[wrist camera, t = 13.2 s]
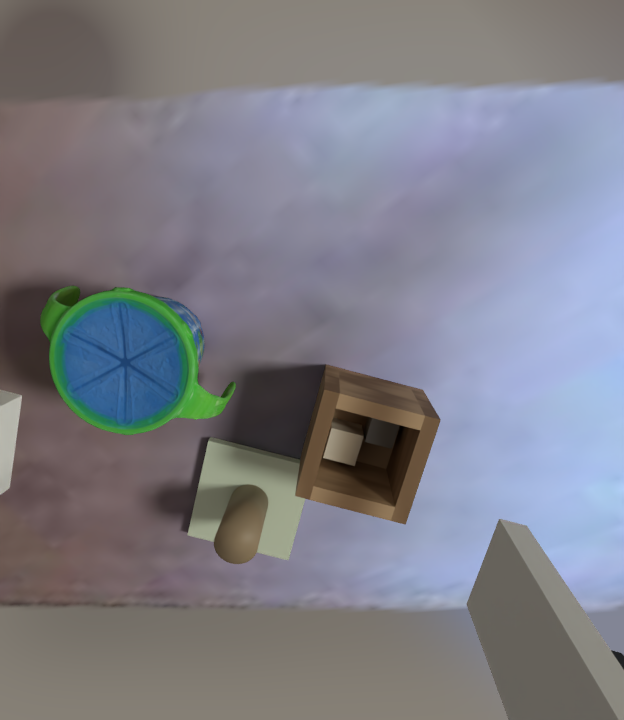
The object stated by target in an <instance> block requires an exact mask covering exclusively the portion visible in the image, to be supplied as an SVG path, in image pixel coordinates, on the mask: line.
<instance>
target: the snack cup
mask: <svg viewBox="0 0 624 720" xmlns="http://www.w3.org/2000/svg"><path fill="white" fill-rule="evenodd" d="M79 295H80V289H79V288H78V287H76V286H68V287H65V288H62V289H60V290H58V291H56V292H54V293H53V294H52V295H51V296H50V297H49V299H48V301H47V304H46V306H45V308H44V309H43V311H42V313H41V317H40V323H41V327H42V329H43V332H44V333H45V334H46V336H47V338H48V339H49V341H50V349H49V364H50V371H51V375H52V378H53V382H54V384H55V386H56V389H57V390H58V392H59V394H60V396H61V398H62V399H63V400H64V401H65V403H66V404H67V405H68V407H69V408H70V409H71V410H72V411H73V412H74V413H75V414H77V415H78V416H79V417H80V418H81V419H83V420H85V421H86V422H87V423H89V424H91V425H93V426H95V427H97V428H100V429H102V430H106V431H109V432H114V433H120V434H124V435H133V434H137V433H144V432H147V431H151V430H153V429H156V428H158V427H160V426H162V425H164V424H165V423H167V422H168V421H170V420H171V419H173V418H181V417H182V418H192V419H195V420H196V419H200V418H201V419H206V418H211V417H215V416H217V415H219V414H221V413H222V411H223V410H224V408H225V405H226V404H227V403H228V401H229V400H230V398H231V396H232V394H233V393H234V390H235V387H236V384H235V382H231V383H230V384H229V385H228V387H227V388H226V390H225V391H224V393H223V394H222V396H221V397H219V396H216V395H212V394H210V393H208V392H207V391H206V390H204V389H203V388H202V387H201V386H200V385H199V384H198V379H197V376H198V367H199V364H200V362H201V359H202V356H203V352H204V335H203V331H202V328H201V324H200V321H199V320H198V318H197V317H196V316H195V315H194V314H193V313H192V312H191V311H190V310H189V309H188V308H187V307H185V306H184V305H182V304H180V303H179V302H176V301H174V300H172V299H169V298H164V297H156V296H151V295H148V294H146V293H142V292H138V291H134V290H132V289H130V288H117V287H115V288H114V289H112V290H110V291H103V292H100V293H97V294H94V295H91V296H89V297H87V298H84V299H82V300H81V301H79V302H78V303H77V301H78V299H79Z"/></svg>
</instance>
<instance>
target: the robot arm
mask: <svg viewBox="0 0 624 720" xmlns="http://www.w3.org/2000/svg"><path fill="white" fill-rule="evenodd" d="M21 400H22V395H19V394H15V393H11V392H7V391H3V390H0V495H1V494H2V493H3V492H5V491H6V490H7V489H9V488H10V482H11V474H12V467H13V459H14V452H15V444H16V437H17V430H18V422H19V415H20V407H21ZM467 607H468V610H469V612H470V615H471V618H472V620H473V623H474V626H475V629H476V631H477V634H478V637H479V640H480V642H481V645H482V648H483V651H484V653H485V656H486V659H487V662H488V664H489V667H490V670H491V673H492V675H493V678H494V681H495V684H496V686H497V689H498V692H499V694H500V697H501V700H502V703H503V705H504V708H505V711H506V714H507V716H508V719H509V720H624V656H623V655H622V654H621V653H619V652H615V651H611V650H610V649H609V647H608V646H607V644H606V643H605V641H604V640H603V638H602V637H601V635H600V634H599V633H598V631H597V629H596V628H595V626H594V625H593V623H592V622H591V620H590V619H589V618H588V616H587V615H586V613H585V612H584V610H583V609H582V607H581V606H580V604H579V603H578V601H577V600H576V598H575V597H574V595H573V594H572V592H571V591H570V589H569V588H568V586H567V585H566V583H565V582H564V580H563V579H562V577H561V576H560V575H559V573H558V572H557V570H556V569H555V567H554V566H553V564H552V563H551V561H550V560H549V558H548V557H547V555H546V554H545V552H544V551H543V549H542V548H541V546H540V545H539V543H538V542H537V540H536V539H535V537H534V536H533V535H532V533H531V532H530V530H529V529H528V527H527V526H525V525H521V524H518V523H514V522H510V521H506V520H502V519H499V521H498V524H497V526H496V529H495V531H494V534H493V537H492V539H491V542H490V544H489V547H488V550H487V552H486V555H485V558H484V560H483V563H482V565H481V568H480V571H479V573H478V576H477V579H476V581H475V584H474V586H473V589H472V592H471V594H470V597H469V599H468V602H467Z"/></svg>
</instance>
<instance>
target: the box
mask: <svg viewBox="0 0 624 720" xmlns="http://www.w3.org/2000/svg"><path fill="white" fill-rule="evenodd" d="M439 423H440V418H439V416H438V415H437V413H436V411H435V410H434V408H433V406H432V405H431V403H430V401H429V399H428V398H427V396H426V394H425V393H424V391H423V390H421V389H417V388H414V387H410V386H406V385H402V384H398V383H394V382H391V381H387V380H383V379H379V378H375V377H372V376H368V375H364V374H360V373H356V372H353V371H349V370H345V369H341V368H337V367H334V366H330V365H326V366H325V370H324V373H323V377H322V381H321V384H320V388H319V392H318V395H317V399H316V403H315V406H314V410H313V413H312V417H311V421H310V424H309V428H308V432H307V435H306V439H305V443H304V446H303V450H302V454H301V459H300V466H299V472H298V479H297V485H296V492H295V496H297V497H301V498H305V499H309V500H313V501H316V502H320V503H324V504H328V505H332V506H336V507H340V508H344V509H347V510H351V511H355V512H359V513H363V514H367V515H371V516H375V517H379V518H382V519H386V520H390V521H394V522H398V523H402V524H406V521H407V518H408V515H409V513H410V510H411V507H412V504H413V501H414V498H415V495H416V492H417V489H418V486H419V483H420V480H421V477H422V474H423V471H424V468H425V465H426V462H427V459H428V456H429V453H430V450H431V447H432V444H433V441H434V438H435V435H436V432H437V429H438V426H439Z"/></svg>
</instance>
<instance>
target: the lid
mask: <svg viewBox="0 0 624 720" xmlns="http://www.w3.org/2000/svg"><path fill="white" fill-rule="evenodd" d="M299 466H300V460H299V459H295V458H291V457H287V456H283V455H279V454H275V453H271V452H268V451H264V450H260V449H256V448H252V447H248V446H244V445H240V444H236V443H232V442H228V441H224V440H220V439H216V438H212V437H210V439H209V441H208V445H207V449H206V454H205V458H204V463H203V467H202V472H201V476H200V481H199V485H198V490H197V494H196V499H195V503H194V508H193V512H192V517H191V521H190V526H189V530H188V535H189V536H193V537H197V538H201V539H205V540H209V541H213V542H214V548H215V550H216V552H217V554H218V555H219V556H220V557H221V558H222V559H223V560H225V561H226V562H229V563H233V564H242V563H245V562H248V561H249V560H251V559H252V558H253V557H254V556H255V554H256V552H257V553H261V554H265V555H269V556H273V557H277V558H281V559H285V560H289V556H290V553H291V549H292V545H293V542H294V538H295V534H296V531H297V527H298V523H299V520H300V516H301V513H302V509H303V505H304V502H305V498H301V497H297V496H295V492H296V485H297V479H298V472H299Z"/></svg>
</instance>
